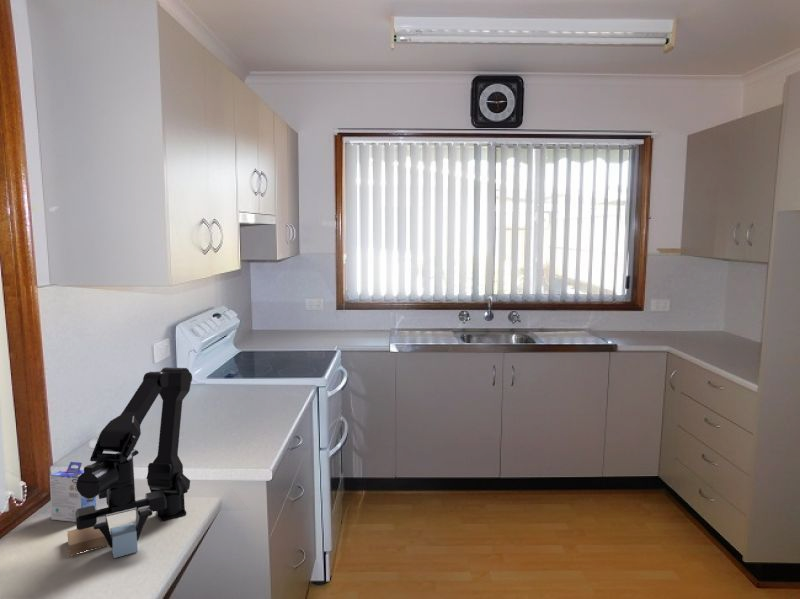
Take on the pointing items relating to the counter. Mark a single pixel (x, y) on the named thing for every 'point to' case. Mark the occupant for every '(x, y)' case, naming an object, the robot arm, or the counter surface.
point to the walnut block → (85, 540)
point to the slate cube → (124, 540)
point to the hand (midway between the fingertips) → (124, 543)
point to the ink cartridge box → (67, 494)
